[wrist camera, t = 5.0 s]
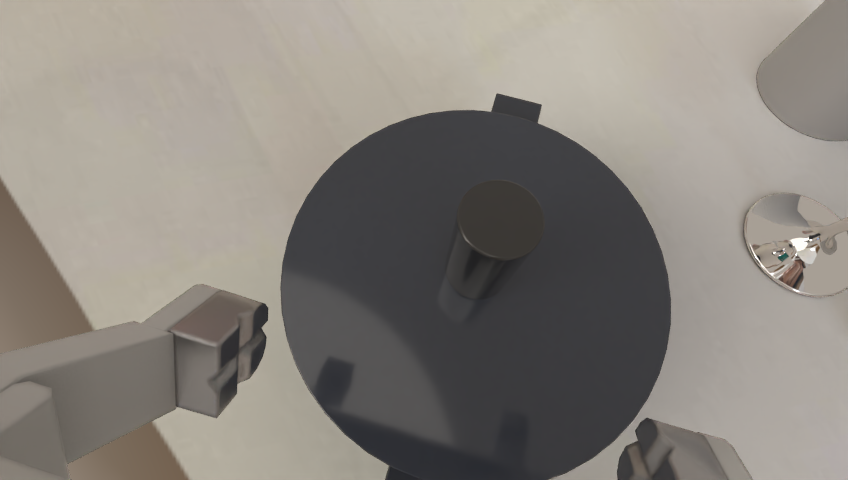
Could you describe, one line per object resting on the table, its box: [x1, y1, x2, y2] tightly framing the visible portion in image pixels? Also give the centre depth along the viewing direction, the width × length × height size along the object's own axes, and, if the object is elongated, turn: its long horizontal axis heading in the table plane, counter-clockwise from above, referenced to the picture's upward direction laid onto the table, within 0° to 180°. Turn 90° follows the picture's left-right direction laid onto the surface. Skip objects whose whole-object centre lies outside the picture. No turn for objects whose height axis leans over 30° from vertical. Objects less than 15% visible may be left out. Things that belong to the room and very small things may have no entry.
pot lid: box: [281, 110, 671, 480], centre depth 15 cm, size 16×16×6 cm
